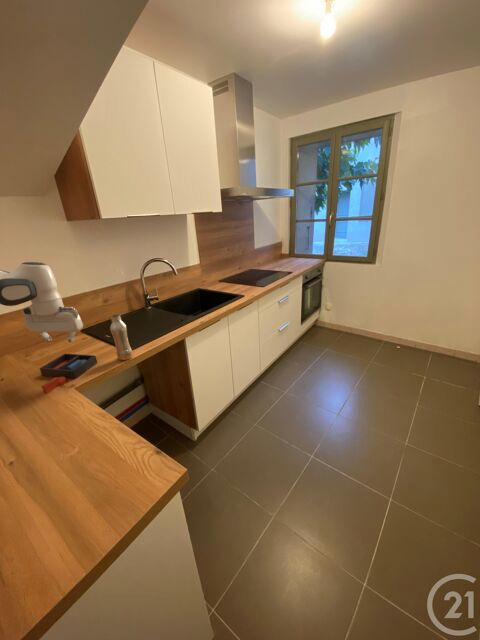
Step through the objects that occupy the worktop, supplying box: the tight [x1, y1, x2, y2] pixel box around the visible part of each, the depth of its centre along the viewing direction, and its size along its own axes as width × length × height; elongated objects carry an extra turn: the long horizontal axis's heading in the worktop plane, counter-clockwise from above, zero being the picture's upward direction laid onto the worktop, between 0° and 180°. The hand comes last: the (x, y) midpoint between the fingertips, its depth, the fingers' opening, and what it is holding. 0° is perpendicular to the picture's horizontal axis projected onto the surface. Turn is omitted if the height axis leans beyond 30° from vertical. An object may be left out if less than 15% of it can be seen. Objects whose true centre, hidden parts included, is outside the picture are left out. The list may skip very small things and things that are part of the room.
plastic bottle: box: [109, 313, 133, 361], centre depth 112 cm, size 6×7×20 cm
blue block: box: [67, 359, 87, 370], centre depth 107 cm, size 8×4×3 cm, turn 167°
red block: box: [41, 377, 67, 394], centre depth 97 cm, size 8×4×3 cm, turn 168°
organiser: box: [39, 353, 98, 380], centre depth 108 cm, size 16×12×4 cm
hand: (60, 341), depth 99 cm, fingers open, 8 cm apart
